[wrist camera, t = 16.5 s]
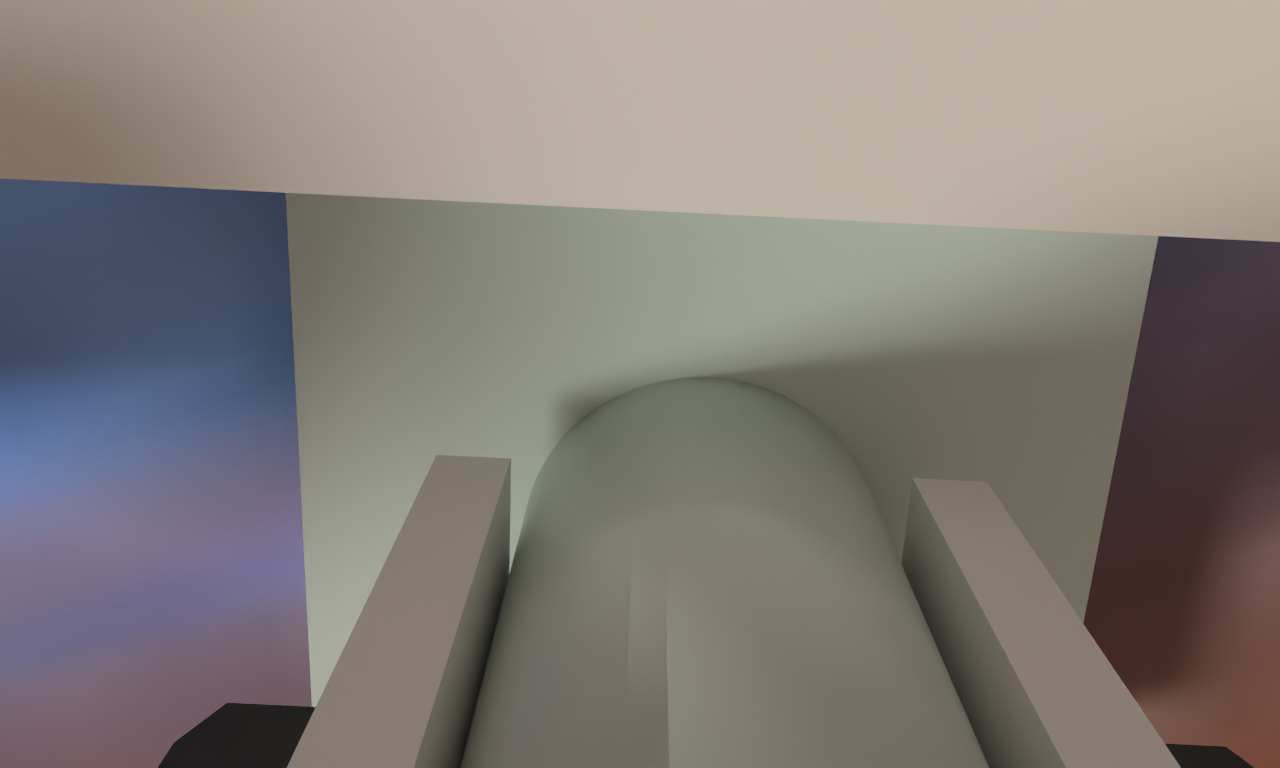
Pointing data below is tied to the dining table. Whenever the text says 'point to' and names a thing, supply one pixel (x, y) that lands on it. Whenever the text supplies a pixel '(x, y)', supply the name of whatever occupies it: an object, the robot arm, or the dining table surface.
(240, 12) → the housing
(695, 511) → the cover
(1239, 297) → the dining table surface
